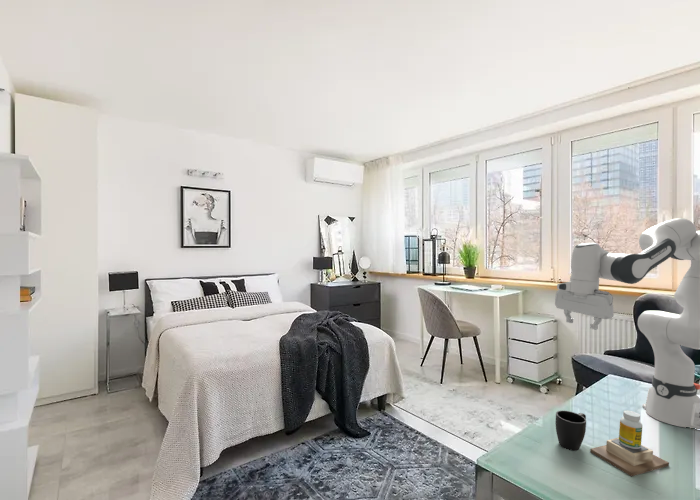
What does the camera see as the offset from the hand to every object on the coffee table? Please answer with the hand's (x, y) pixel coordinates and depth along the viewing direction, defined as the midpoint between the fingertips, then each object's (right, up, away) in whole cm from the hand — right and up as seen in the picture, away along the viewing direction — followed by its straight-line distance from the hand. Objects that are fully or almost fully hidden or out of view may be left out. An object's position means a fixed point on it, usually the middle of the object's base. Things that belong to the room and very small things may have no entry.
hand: (581, 325), depth 133 cm
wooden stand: (0, -35, -22) cm, 42 cm away
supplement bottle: (0, -31, -23) cm, 38 cm away
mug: (-13, -35, -16) cm, 40 cm away
